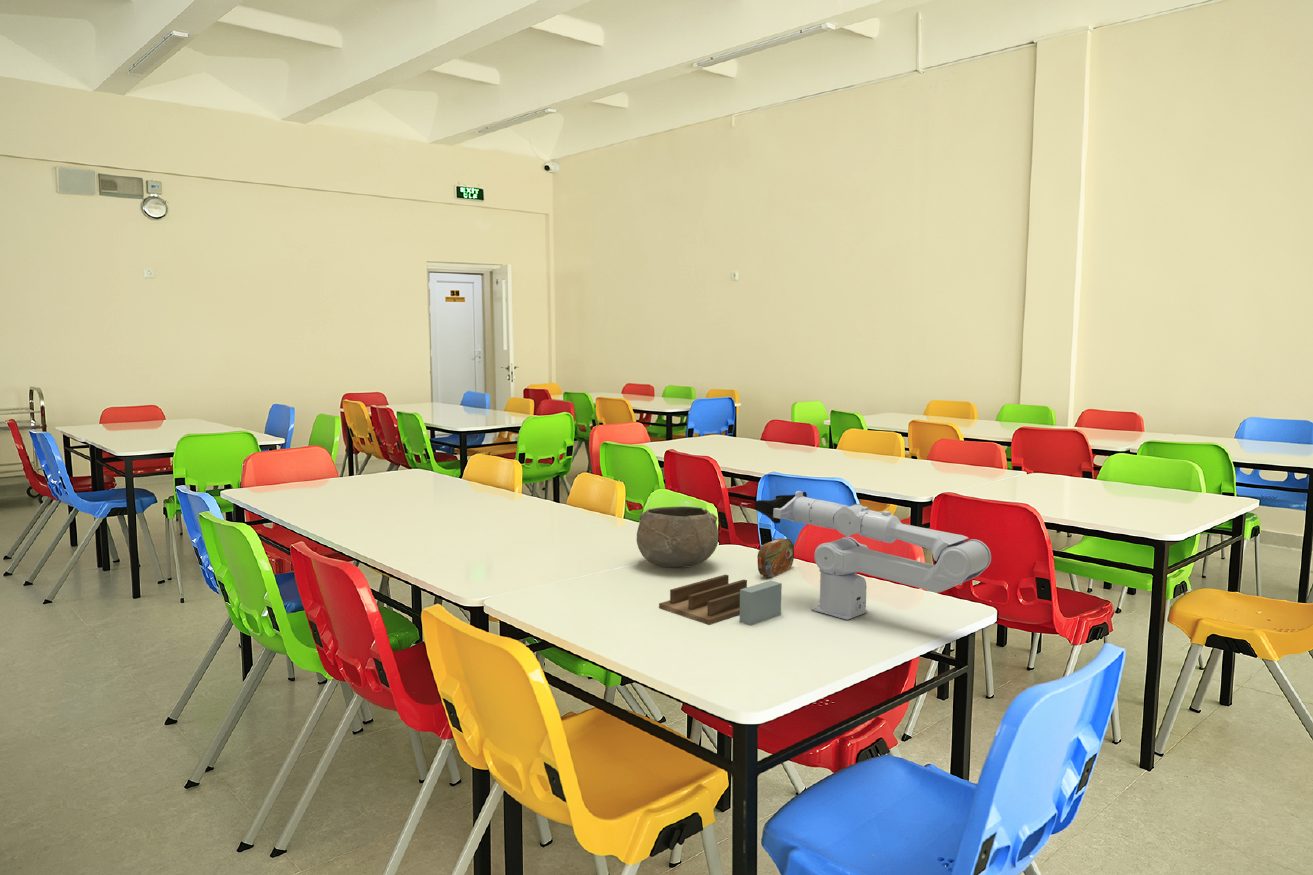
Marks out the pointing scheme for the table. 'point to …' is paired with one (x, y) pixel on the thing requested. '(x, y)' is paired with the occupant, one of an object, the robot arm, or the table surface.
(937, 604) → the table surface
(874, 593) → the table surface
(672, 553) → the clay pot
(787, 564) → the tin
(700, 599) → the rack
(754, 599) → the grey stone cuboid
